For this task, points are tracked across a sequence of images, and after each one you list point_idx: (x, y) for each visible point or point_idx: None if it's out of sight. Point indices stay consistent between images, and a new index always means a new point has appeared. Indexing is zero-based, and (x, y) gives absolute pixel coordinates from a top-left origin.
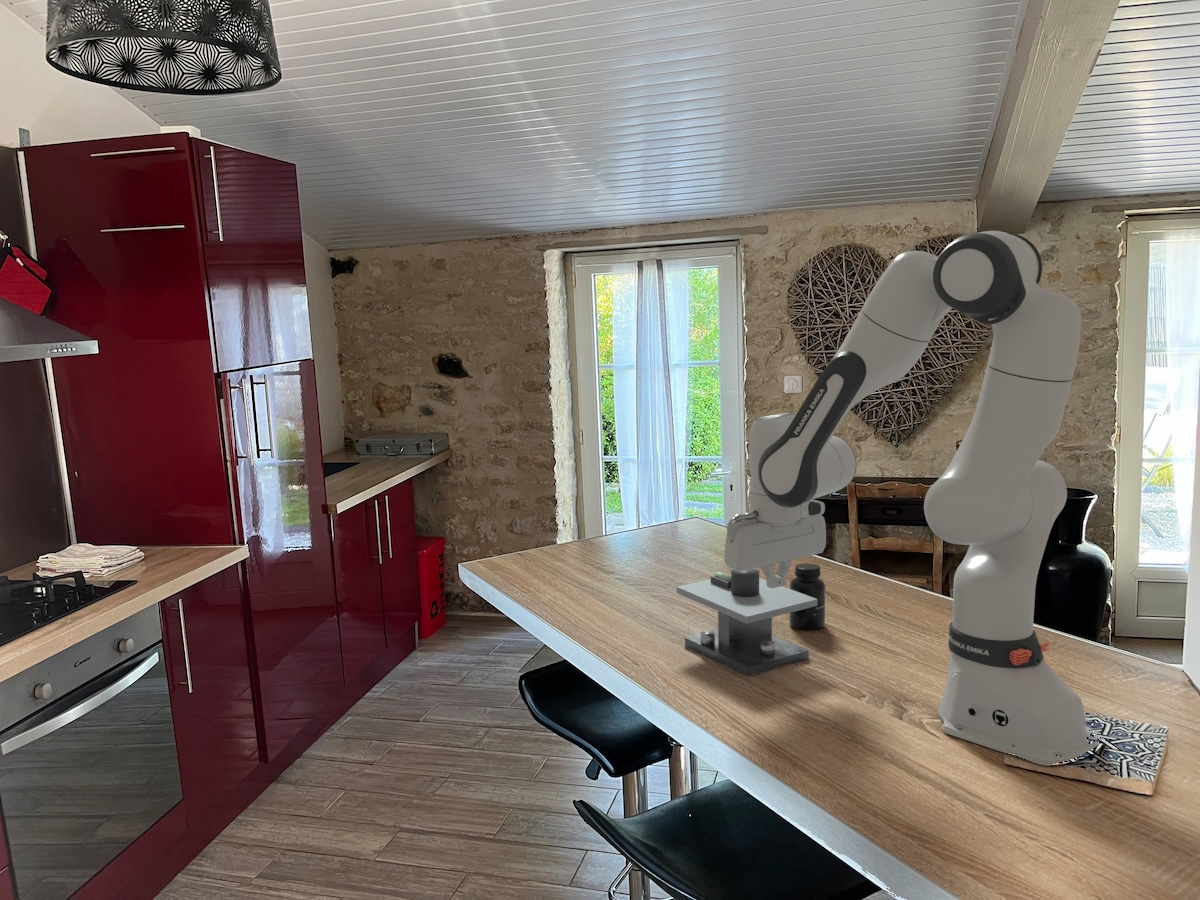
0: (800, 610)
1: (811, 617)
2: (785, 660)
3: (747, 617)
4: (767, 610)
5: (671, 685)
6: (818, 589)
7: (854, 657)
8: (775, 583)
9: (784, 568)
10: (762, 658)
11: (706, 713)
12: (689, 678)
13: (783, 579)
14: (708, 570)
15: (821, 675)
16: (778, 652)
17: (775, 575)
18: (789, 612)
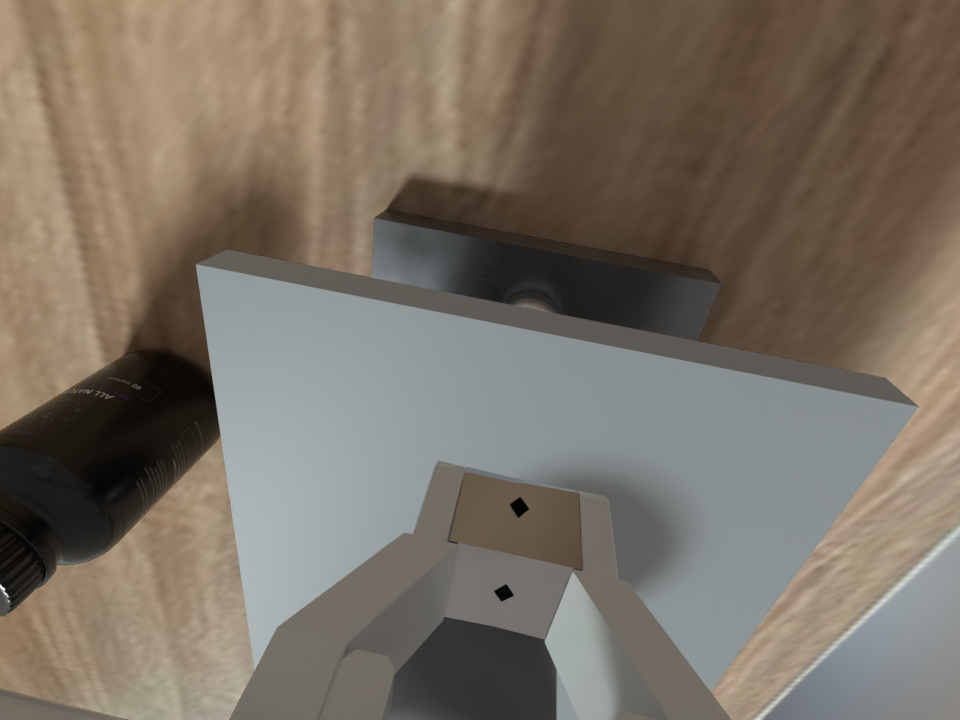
0: (172, 433)
1: (157, 387)
2: (509, 238)
3: (906, 402)
4: (681, 377)
5: (953, 416)
6: (25, 445)
7: (218, 72)
8: (579, 520)
9: (378, 636)
10: (589, 301)
11: None
12: None
13: (461, 513)
14: (166, 716)
15: (489, 40)
16: (489, 293)
17: (482, 608)
18: (484, 300)
